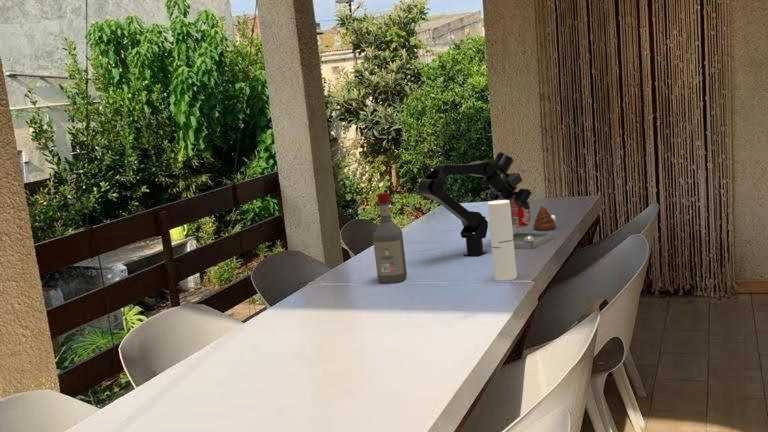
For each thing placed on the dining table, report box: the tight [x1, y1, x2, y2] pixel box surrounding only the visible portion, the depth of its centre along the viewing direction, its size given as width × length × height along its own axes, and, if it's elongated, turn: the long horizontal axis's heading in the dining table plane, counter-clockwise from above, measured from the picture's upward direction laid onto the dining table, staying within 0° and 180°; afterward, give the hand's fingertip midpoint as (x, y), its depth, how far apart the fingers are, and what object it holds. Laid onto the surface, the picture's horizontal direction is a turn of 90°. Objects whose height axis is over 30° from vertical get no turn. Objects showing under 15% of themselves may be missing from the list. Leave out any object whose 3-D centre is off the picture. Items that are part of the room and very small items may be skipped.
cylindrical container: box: [487, 200, 518, 282], centre depth 274 cm, size 7×7×25 cm
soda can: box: [510, 198, 531, 229], centre depth 326 cm, size 7×7×12 cm
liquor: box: [372, 192, 408, 285], centre depth 289 cm, size 9×9×30 cm
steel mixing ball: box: [524, 235, 534, 243], centre depth 318 cm, size 4×4×4 cm
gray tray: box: [513, 232, 555, 250], centre depth 325 cm, size 18×16×2 cm
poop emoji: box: [532, 205, 556, 232], centre depth 347 cm, size 10×8×9 cm
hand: (522, 208), depth 327 cm, fingers closed on soda can, 7 cm apart
